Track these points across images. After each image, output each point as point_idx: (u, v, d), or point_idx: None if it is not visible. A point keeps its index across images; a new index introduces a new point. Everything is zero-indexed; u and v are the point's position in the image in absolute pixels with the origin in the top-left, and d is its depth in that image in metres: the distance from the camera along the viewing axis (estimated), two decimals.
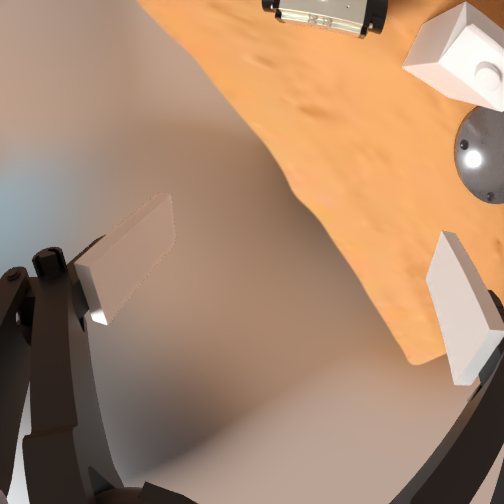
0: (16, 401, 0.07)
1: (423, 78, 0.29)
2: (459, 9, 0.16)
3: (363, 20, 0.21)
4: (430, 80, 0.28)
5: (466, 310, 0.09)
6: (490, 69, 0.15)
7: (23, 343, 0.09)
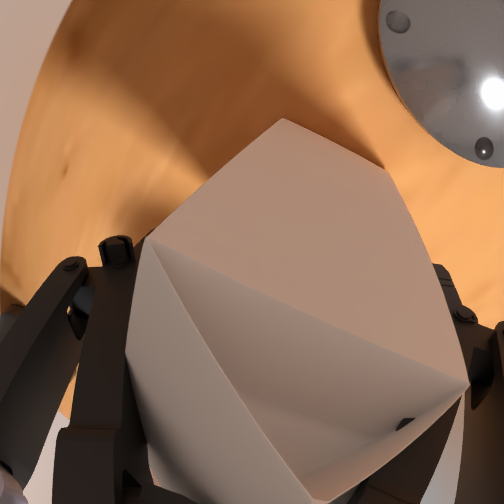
0: (53, 396, 0.08)
1: None
2: None
3: None
4: None
5: None
6: None
7: (71, 337, 0.09)
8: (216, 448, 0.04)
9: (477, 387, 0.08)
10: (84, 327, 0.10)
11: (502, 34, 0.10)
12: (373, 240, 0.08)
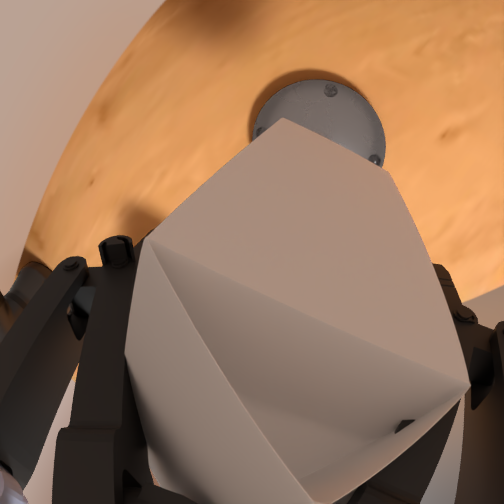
0: (53, 397, 0.08)
1: None
2: None
3: None
4: None
5: None
6: None
7: (71, 337, 0.09)
8: (216, 450, 0.04)
9: (477, 387, 0.08)
10: (84, 327, 0.10)
11: (326, 135, 0.31)
12: (374, 240, 0.08)
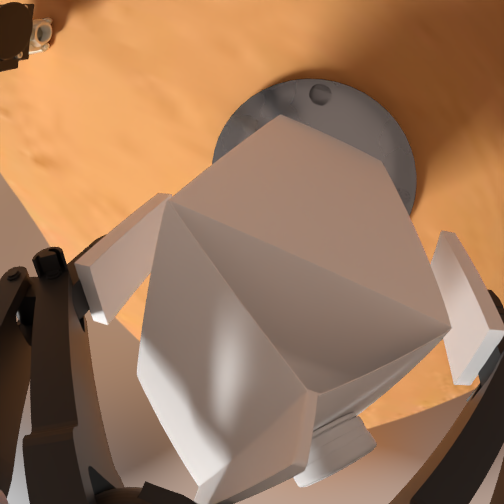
0: (16, 401, 0.07)
1: None
2: None
3: None
4: None
5: (465, 310, 0.09)
6: (299, 486, 0.06)
7: (23, 343, 0.09)
8: (226, 370, 0.05)
9: None
10: None
11: None
12: (360, 211, 0.10)
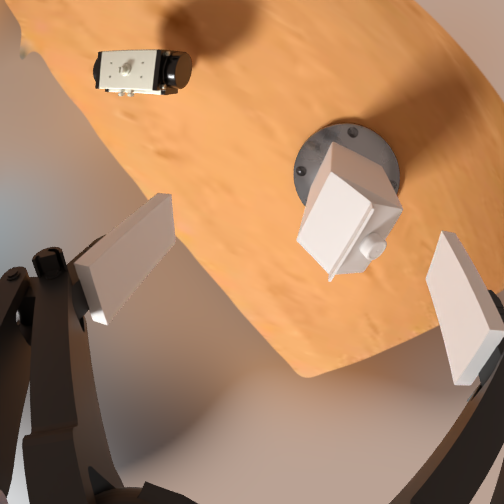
0: (16, 402, 0.07)
1: None
2: None
3: (152, 86, 0.30)
4: None
5: (466, 310, 0.09)
6: (366, 254, 0.25)
7: (23, 343, 0.09)
8: (351, 208, 0.24)
9: None
10: None
11: None
12: (374, 182, 0.28)
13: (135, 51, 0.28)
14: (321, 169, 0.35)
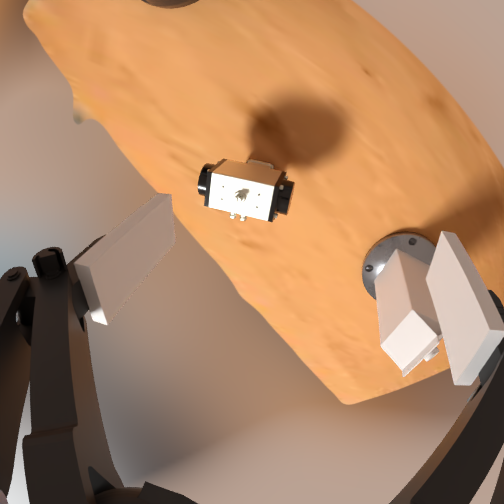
0: (16, 402, 0.07)
1: None
2: None
3: (268, 217, 0.39)
4: None
5: (466, 310, 0.09)
6: (427, 360, 0.34)
7: (23, 343, 0.09)
8: (423, 335, 0.34)
9: None
10: None
11: None
12: None
13: (251, 182, 0.37)
14: (390, 277, 0.45)
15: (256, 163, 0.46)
